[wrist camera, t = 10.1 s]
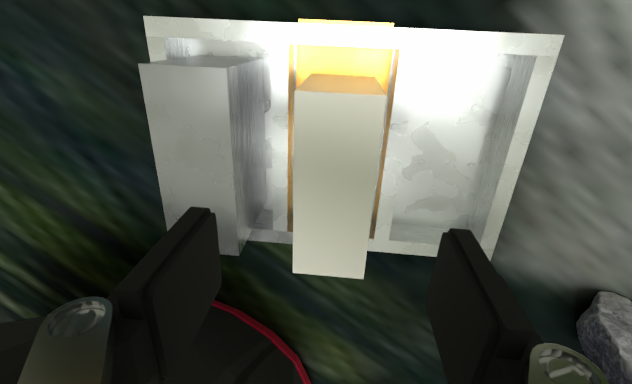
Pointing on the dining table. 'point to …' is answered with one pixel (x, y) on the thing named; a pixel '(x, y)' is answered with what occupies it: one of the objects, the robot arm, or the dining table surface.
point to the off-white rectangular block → (335, 172)
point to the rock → (608, 336)
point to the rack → (397, 134)
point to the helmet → (212, 350)
